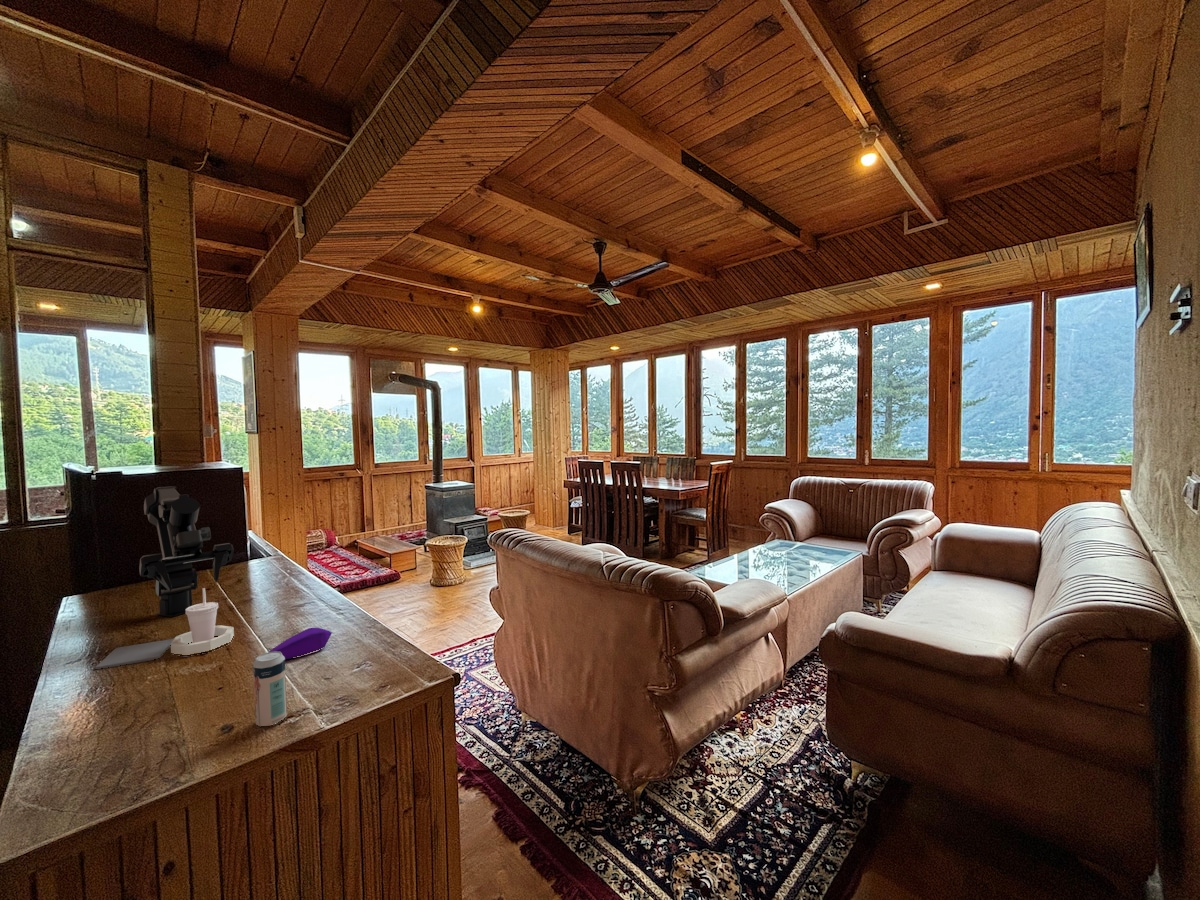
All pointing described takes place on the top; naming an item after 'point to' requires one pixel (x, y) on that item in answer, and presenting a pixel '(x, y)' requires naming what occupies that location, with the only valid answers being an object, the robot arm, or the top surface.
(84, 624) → the top surface
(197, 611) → the smoothie
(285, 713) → the pill bottle
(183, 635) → the ring holder
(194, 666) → the top surface
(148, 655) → the mat
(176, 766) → the top surface
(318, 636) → the purple tapered wedge
